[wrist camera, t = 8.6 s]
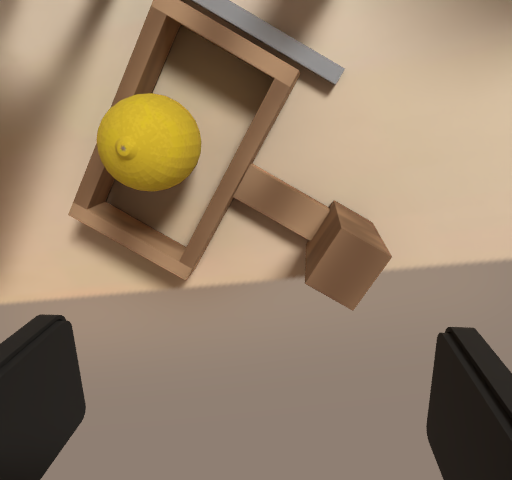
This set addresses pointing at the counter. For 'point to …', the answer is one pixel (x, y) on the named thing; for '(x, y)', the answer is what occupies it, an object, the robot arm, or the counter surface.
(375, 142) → the counter surface
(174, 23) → the wooden handled tray
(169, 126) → the lemon
